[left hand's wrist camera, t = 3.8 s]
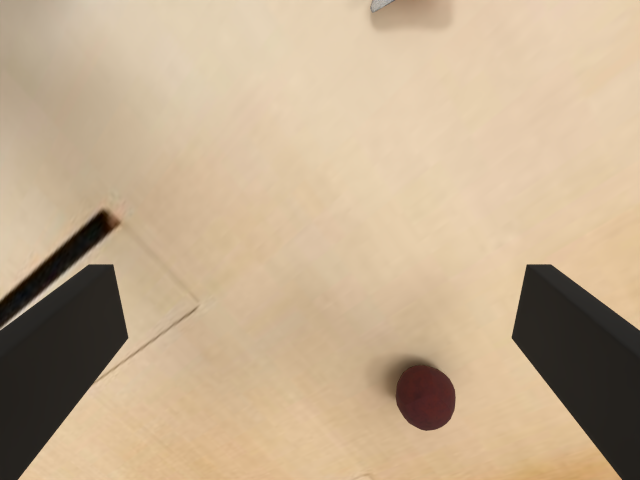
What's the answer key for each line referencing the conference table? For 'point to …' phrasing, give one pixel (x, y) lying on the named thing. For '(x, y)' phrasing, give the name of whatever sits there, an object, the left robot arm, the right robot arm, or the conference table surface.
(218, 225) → the conference table surface
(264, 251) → the conference table surface
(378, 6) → the fish
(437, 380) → the dark red ball
